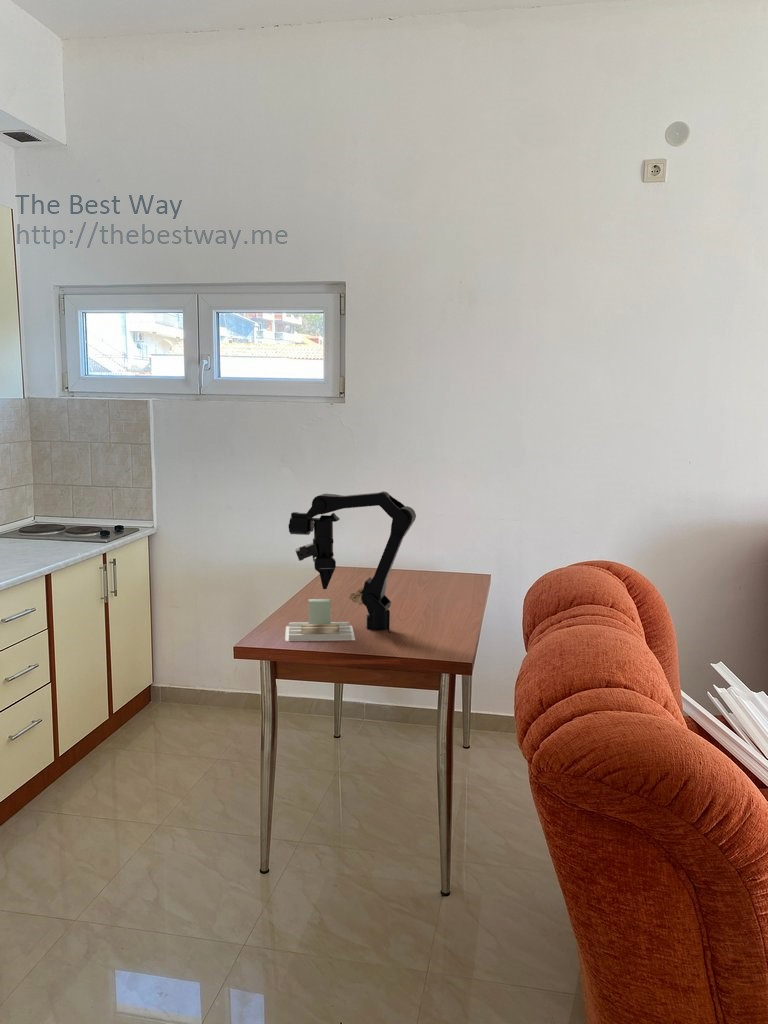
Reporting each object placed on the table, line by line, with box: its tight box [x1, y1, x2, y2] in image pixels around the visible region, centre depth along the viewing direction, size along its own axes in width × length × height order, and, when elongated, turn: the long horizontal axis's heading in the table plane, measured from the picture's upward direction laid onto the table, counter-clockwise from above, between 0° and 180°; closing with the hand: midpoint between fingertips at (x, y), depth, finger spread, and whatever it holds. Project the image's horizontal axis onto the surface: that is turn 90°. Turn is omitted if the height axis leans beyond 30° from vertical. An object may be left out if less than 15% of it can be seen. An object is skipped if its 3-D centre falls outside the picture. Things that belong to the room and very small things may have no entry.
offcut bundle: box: [301, 624, 339, 634], centre depth 227 cm, size 11×3×4 cm, turn 96°
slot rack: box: [284, 621, 356, 642], centre depth 231 cm, size 20×15×2 cm
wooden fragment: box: [348, 586, 364, 605], centre depth 283 cm, size 26×11×1 cm, turn 164°
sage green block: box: [308, 598, 332, 624], centre depth 234 cm, size 6×3×9 cm, turn 96°
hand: (323, 585), depth 240 cm, fingers open, 9 cm apart
